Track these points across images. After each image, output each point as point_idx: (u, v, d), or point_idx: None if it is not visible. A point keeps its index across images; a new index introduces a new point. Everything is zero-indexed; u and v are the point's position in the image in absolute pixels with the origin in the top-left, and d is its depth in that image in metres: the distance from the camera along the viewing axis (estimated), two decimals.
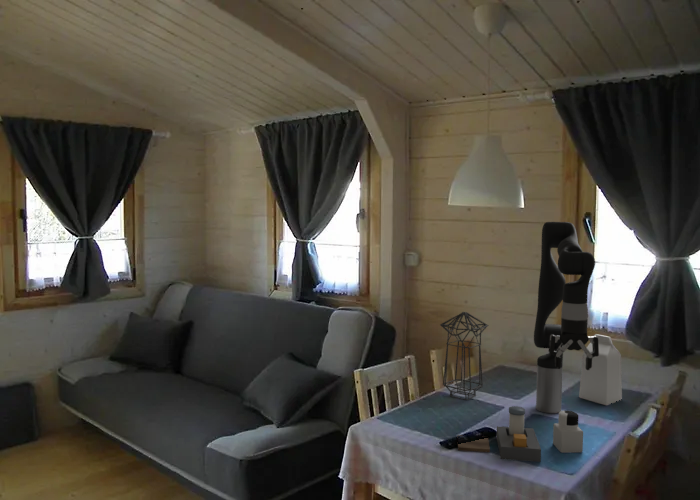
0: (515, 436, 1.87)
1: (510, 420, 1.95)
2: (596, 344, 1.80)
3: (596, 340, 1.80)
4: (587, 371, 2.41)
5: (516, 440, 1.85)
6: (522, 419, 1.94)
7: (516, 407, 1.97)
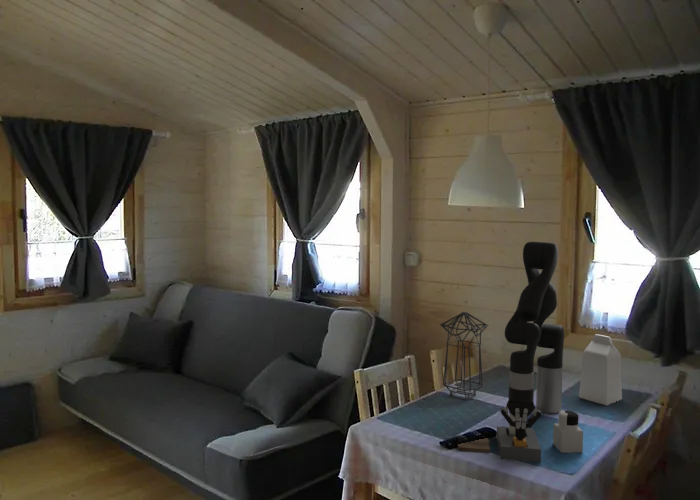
0: (515, 439, 1.87)
1: None
2: (536, 418, 1.84)
3: (538, 415, 1.84)
4: (587, 371, 2.41)
5: (516, 443, 1.85)
6: None
7: None
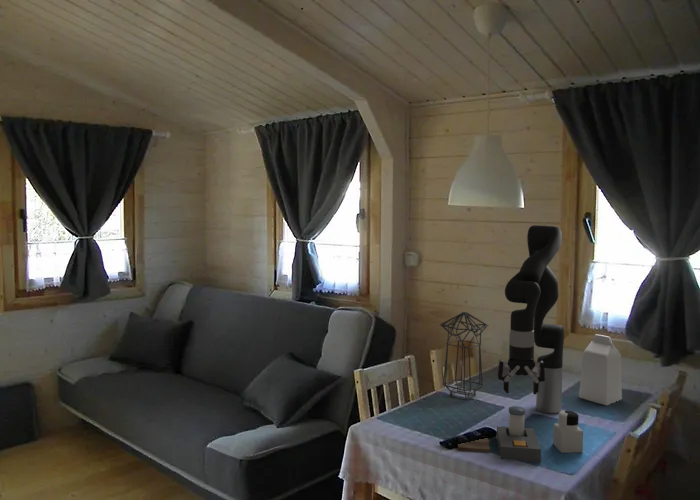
0: (515, 443, 1.87)
1: (510, 420, 1.95)
2: (542, 369, 1.87)
3: (542, 366, 1.87)
4: (587, 371, 2.41)
5: None
6: (522, 419, 1.94)
7: (516, 407, 1.97)
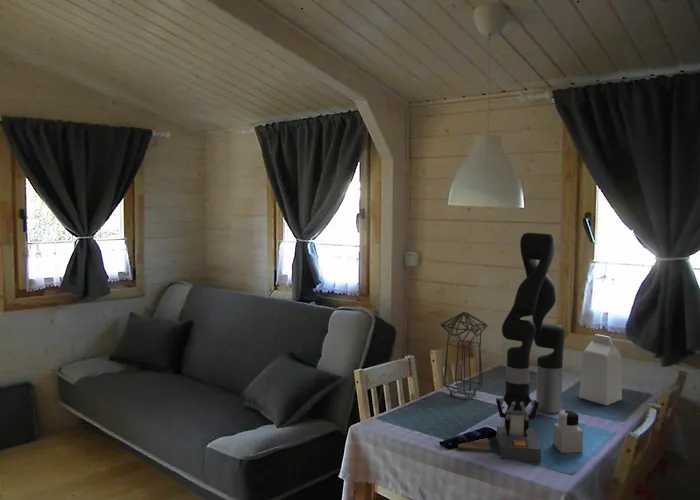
0: (515, 443, 1.87)
1: (510, 420, 1.95)
2: (535, 408, 1.93)
3: (536, 405, 1.93)
4: (587, 371, 2.41)
5: None
6: (522, 419, 1.94)
7: None
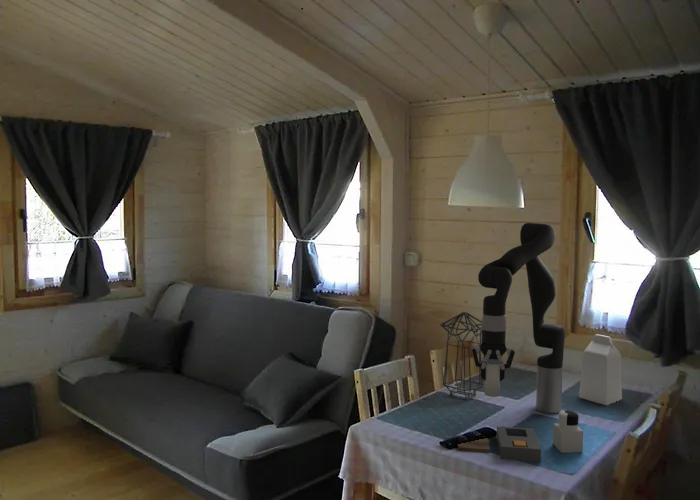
0: (515, 443, 1.87)
1: (486, 369, 1.93)
2: (511, 357, 1.91)
3: (512, 353, 1.91)
4: (587, 371, 2.41)
5: None
6: (498, 368, 1.91)
7: None
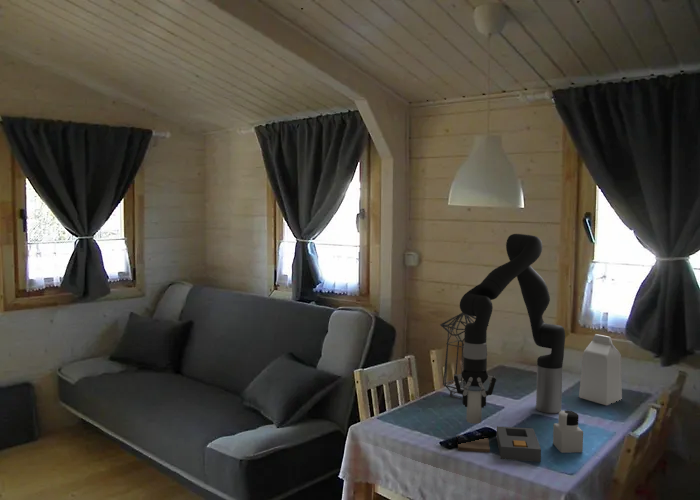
0: (515, 443, 1.87)
1: (467, 396, 1.94)
2: (492, 384, 1.92)
3: (494, 381, 1.92)
4: (587, 371, 2.41)
5: None
6: (479, 395, 1.93)
7: None
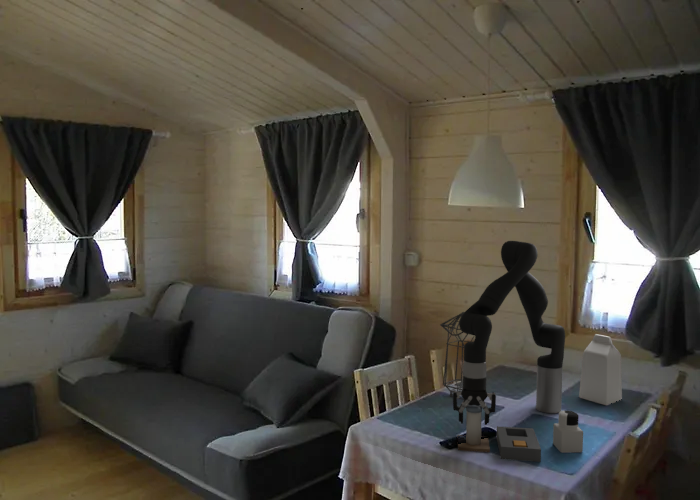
0: (515, 443, 1.87)
1: (467, 418, 1.94)
2: (493, 401, 1.93)
3: (494, 397, 1.92)
4: (587, 371, 2.41)
5: None
6: (479, 417, 1.93)
7: (473, 405, 1.96)
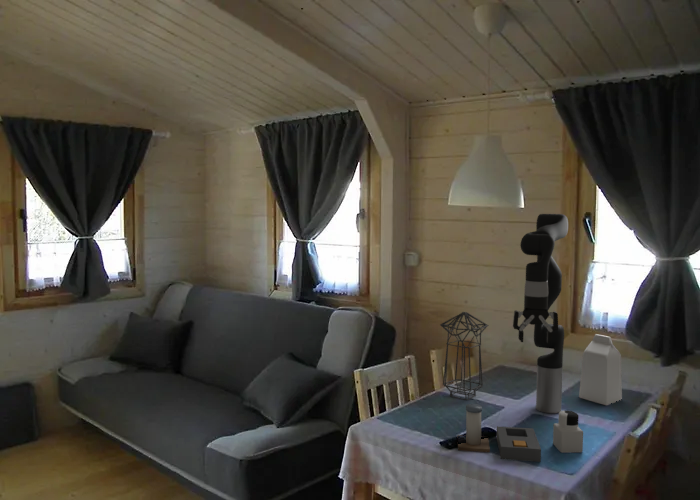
0: (515, 443, 1.87)
1: (467, 418, 1.95)
2: (556, 319, 1.96)
3: (556, 315, 1.96)
4: (587, 371, 2.41)
5: None
6: (479, 417, 1.93)
7: (473, 405, 1.96)
